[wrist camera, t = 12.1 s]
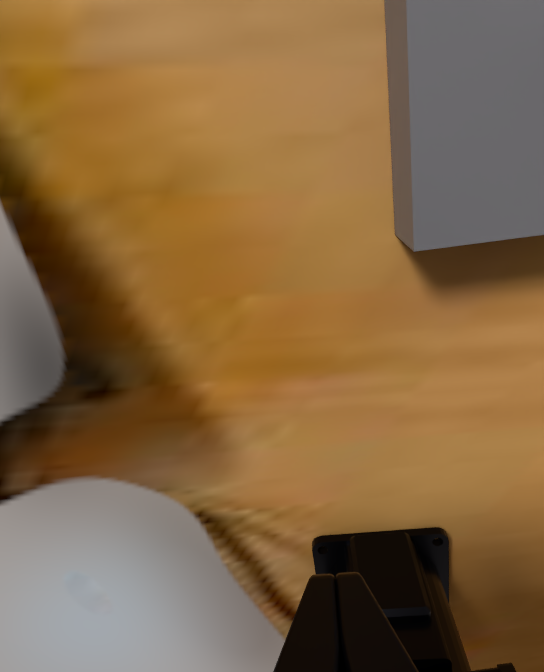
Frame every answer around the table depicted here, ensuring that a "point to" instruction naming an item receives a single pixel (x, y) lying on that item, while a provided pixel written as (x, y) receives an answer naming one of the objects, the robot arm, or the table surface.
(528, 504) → the table surface
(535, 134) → the socket block
